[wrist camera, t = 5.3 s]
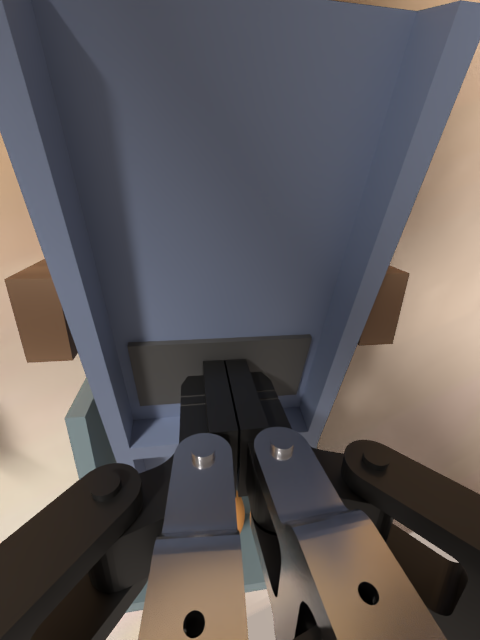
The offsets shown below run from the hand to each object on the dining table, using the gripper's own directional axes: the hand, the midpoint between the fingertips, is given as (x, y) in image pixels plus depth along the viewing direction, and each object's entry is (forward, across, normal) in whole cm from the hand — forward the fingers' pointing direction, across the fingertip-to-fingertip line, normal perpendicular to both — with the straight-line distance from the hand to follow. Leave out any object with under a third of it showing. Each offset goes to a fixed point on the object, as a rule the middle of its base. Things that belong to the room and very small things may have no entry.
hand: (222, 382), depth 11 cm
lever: (+1, 0, -1) cm, 1 cm away
